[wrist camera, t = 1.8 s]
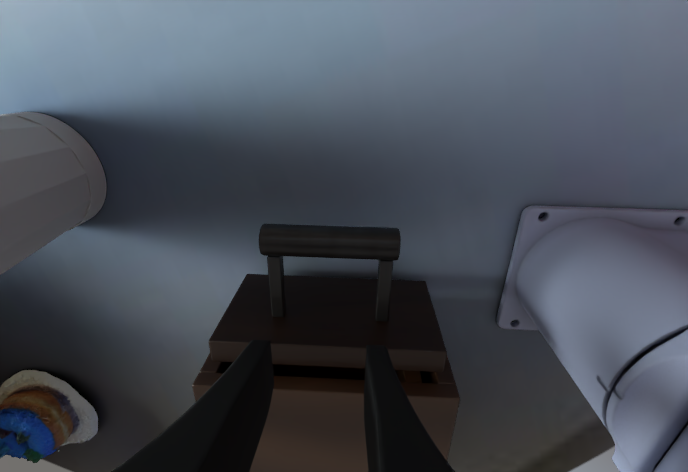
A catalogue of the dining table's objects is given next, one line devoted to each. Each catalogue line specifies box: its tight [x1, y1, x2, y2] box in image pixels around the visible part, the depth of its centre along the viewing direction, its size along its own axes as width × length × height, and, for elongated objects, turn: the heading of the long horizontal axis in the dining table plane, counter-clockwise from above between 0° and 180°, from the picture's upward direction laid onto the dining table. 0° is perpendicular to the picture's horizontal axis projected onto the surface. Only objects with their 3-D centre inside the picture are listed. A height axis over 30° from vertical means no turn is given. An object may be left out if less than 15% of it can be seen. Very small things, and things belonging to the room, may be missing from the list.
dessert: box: [0, 370, 98, 463], centre depth 27 cm, size 8×7×6 cm
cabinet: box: [192, 352, 460, 472], centre depth 22 cm, size 14×12×8 cm
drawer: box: [209, 224, 447, 383], centre depth 20 cm, size 17×10×6 cm, turn 179°
